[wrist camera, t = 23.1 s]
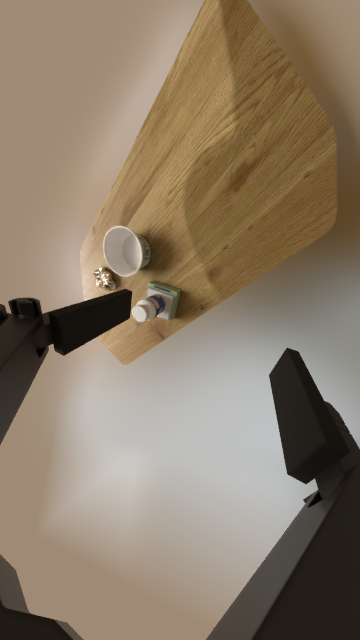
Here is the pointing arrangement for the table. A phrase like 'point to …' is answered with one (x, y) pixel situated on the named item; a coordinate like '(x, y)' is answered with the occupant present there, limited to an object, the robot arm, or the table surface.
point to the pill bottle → (149, 308)
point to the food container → (125, 251)
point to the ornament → (104, 279)
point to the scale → (169, 295)
